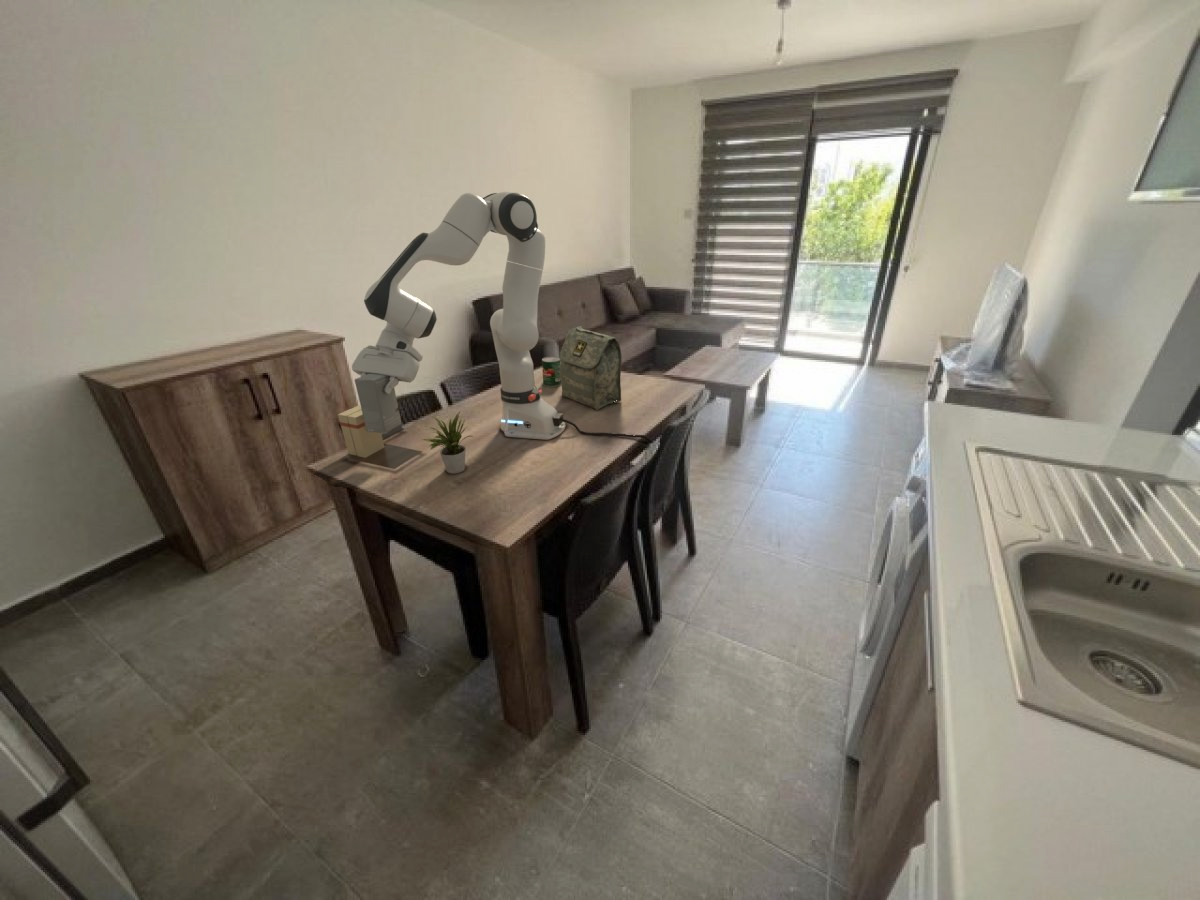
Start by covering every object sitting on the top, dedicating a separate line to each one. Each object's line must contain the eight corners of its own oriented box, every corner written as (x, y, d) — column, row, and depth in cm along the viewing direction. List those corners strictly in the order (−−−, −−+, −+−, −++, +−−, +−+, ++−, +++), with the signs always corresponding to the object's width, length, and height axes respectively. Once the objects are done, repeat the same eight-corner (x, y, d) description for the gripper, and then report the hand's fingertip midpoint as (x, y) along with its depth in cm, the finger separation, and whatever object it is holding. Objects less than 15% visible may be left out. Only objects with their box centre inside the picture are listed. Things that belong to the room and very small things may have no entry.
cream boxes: (384, 447, 149) (375, 408, 143) (365, 457, 143) (355, 417, 137) (367, 443, 151) (358, 405, 145) (348, 454, 145) (337, 414, 139)
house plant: (439, 455, 146) (431, 405, 139) (484, 456, 146) (478, 406, 139) (422, 479, 133) (412, 425, 126) (471, 479, 133) (464, 425, 126)
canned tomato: (541, 386, 204) (539, 361, 199) (545, 380, 211) (544, 356, 206) (559, 387, 203) (557, 361, 198) (563, 381, 210) (562, 356, 205)
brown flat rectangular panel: (423, 454, 147) (423, 451, 146) (395, 472, 137) (394, 468, 136) (373, 444, 154) (372, 441, 153) (343, 460, 144) (342, 457, 143)
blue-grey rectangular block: (404, 432, 162) (402, 423, 160) (382, 444, 154) (379, 435, 152) (395, 430, 163) (393, 422, 162) (372, 442, 155) (370, 433, 153)
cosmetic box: (386, 434, 135) (375, 381, 128) (363, 432, 137) (352, 378, 129) (403, 423, 143) (394, 372, 135) (381, 420, 144) (371, 369, 137)
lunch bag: (556, 397, 192) (553, 328, 180) (587, 388, 202) (586, 322, 189) (594, 412, 177) (593, 339, 165) (624, 402, 187) (626, 331, 174)
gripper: (357, 339, 138) (338, 381, 135) (414, 345, 132) (395, 390, 128) (372, 350, 144) (354, 391, 140) (427, 357, 137) (409, 400, 133)
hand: (374, 391), depth 134 cm, fingers closed on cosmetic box, 7 cm apart
